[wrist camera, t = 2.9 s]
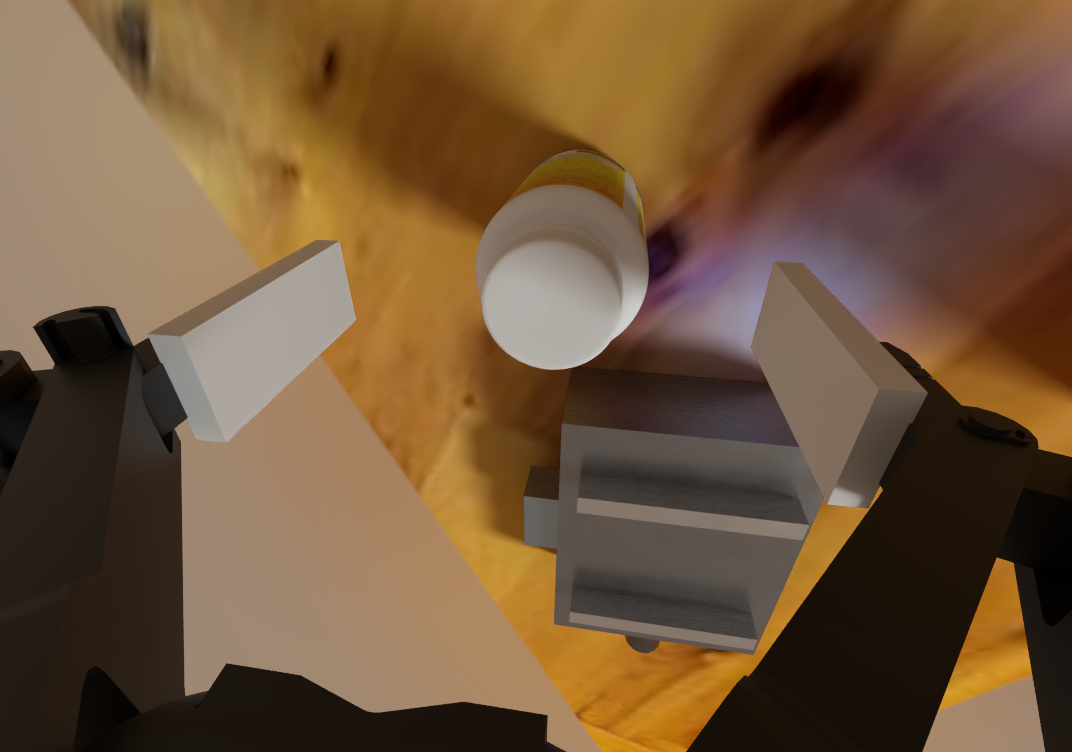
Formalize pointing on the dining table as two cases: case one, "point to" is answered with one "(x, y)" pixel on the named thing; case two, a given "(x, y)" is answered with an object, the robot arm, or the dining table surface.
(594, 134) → the dining table surface
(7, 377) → the robot arm
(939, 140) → the dining table surface
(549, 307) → the supplement bottle
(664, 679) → the dining table surface
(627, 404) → the motor block
